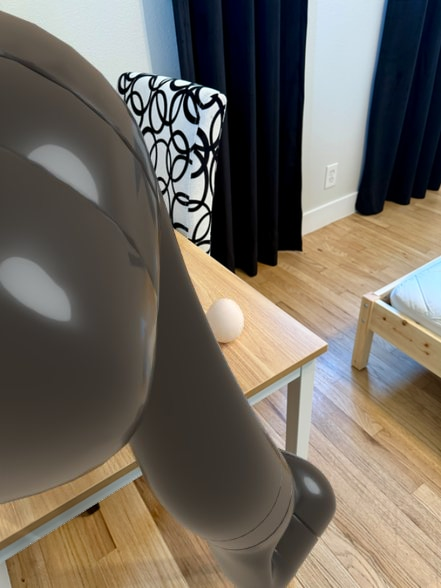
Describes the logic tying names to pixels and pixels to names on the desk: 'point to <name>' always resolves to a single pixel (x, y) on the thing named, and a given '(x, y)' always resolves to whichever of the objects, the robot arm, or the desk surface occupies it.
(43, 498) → the desk surface
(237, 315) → the egg
